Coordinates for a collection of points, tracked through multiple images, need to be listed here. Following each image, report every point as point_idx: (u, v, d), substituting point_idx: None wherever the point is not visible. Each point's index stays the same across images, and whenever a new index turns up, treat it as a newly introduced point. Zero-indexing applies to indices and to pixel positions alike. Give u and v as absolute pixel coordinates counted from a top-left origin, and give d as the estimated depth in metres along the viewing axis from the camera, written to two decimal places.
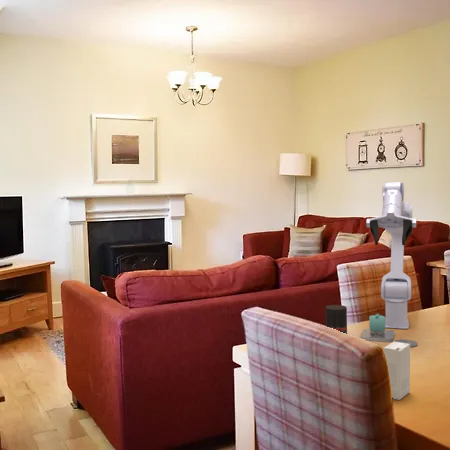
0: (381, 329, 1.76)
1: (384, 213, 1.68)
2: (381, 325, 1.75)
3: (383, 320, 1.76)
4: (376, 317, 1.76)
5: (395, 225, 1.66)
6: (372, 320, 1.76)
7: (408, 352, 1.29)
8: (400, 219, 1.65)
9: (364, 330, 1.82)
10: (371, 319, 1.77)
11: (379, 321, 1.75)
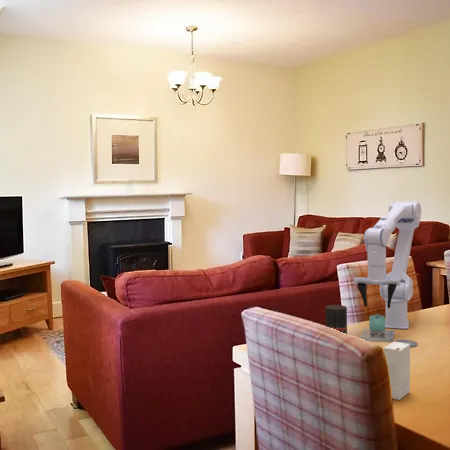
0: (381, 329, 1.76)
1: (370, 276, 1.75)
2: (381, 325, 1.75)
3: (383, 320, 1.76)
4: (376, 317, 1.76)
5: None
6: (372, 320, 1.76)
7: (408, 352, 1.29)
8: None
9: (364, 330, 1.82)
10: (371, 319, 1.77)
11: (379, 321, 1.75)
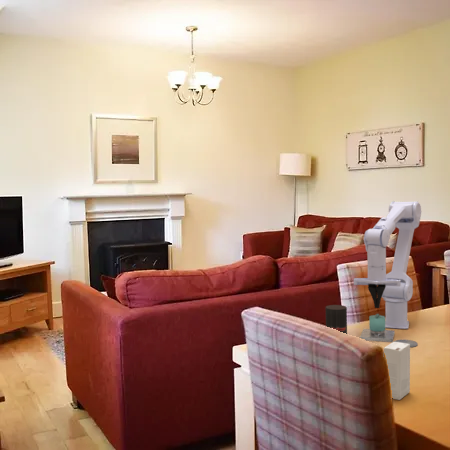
0: (381, 329, 1.76)
1: (370, 276, 1.75)
2: (381, 325, 1.75)
3: (383, 320, 1.76)
4: (376, 317, 1.76)
5: None
6: (372, 320, 1.76)
7: (408, 352, 1.29)
8: (385, 283, 1.74)
9: (364, 330, 1.82)
10: (371, 319, 1.77)
11: (379, 321, 1.75)
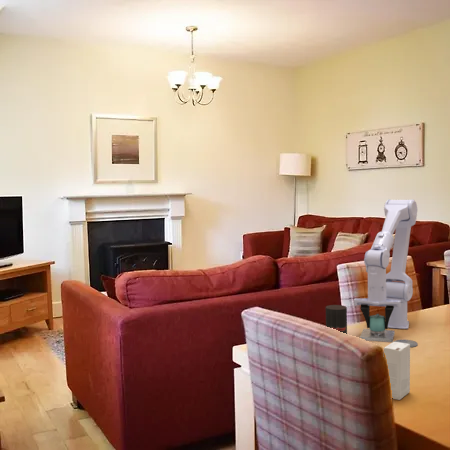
0: (381, 329, 1.76)
1: (370, 297, 1.76)
2: (381, 325, 1.75)
3: (383, 320, 1.76)
4: (376, 317, 1.76)
5: (381, 305, 1.77)
6: (372, 320, 1.76)
7: (408, 352, 1.29)
8: (385, 304, 1.75)
9: (364, 330, 1.82)
10: (371, 319, 1.77)
11: (379, 321, 1.75)
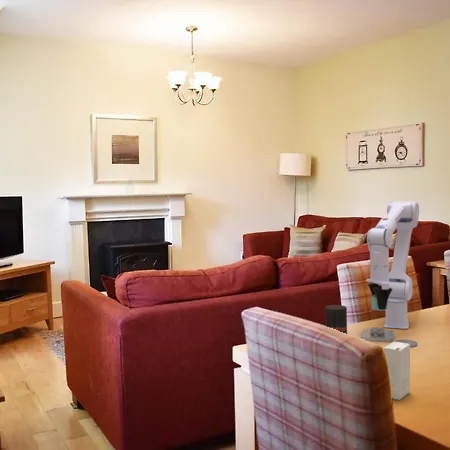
0: (374, 308, 1.75)
1: None
2: (375, 304, 1.75)
3: None
4: (373, 295, 1.76)
5: (381, 285, 1.75)
6: None
7: (408, 352, 1.29)
8: None
9: (364, 330, 1.82)
10: None
11: (373, 299, 1.75)
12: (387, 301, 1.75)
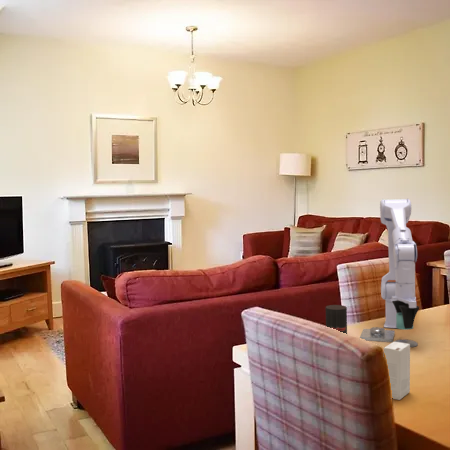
0: (399, 327, 1.68)
1: None
2: (399, 323, 1.67)
3: (401, 318, 1.67)
4: (398, 313, 1.69)
5: (407, 303, 1.67)
6: None
7: (408, 352, 1.29)
8: None
9: (364, 330, 1.82)
10: None
11: (397, 318, 1.68)
12: None
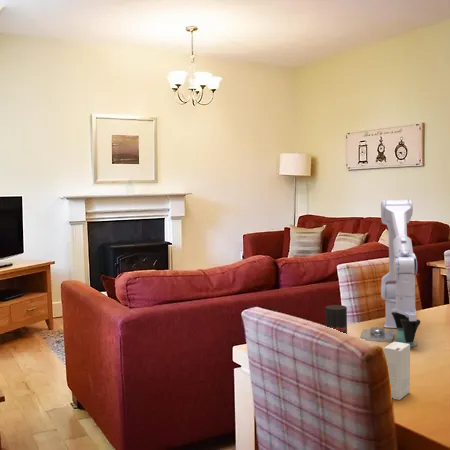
0: None
1: None
2: (399, 339, 1.68)
3: (402, 334, 1.67)
4: (398, 329, 1.69)
5: (407, 316, 1.67)
6: None
7: (408, 352, 1.29)
8: None
9: (364, 330, 1.82)
10: None
11: (398, 333, 1.68)
12: None
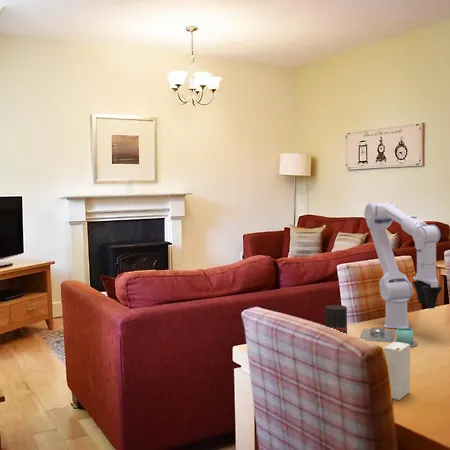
0: None
1: None
2: (399, 339, 1.68)
3: (402, 334, 1.67)
4: (398, 329, 1.69)
5: (428, 283, 1.73)
6: None
7: (408, 352, 1.29)
8: None
9: (364, 330, 1.82)
10: None
11: (398, 333, 1.68)
12: None
